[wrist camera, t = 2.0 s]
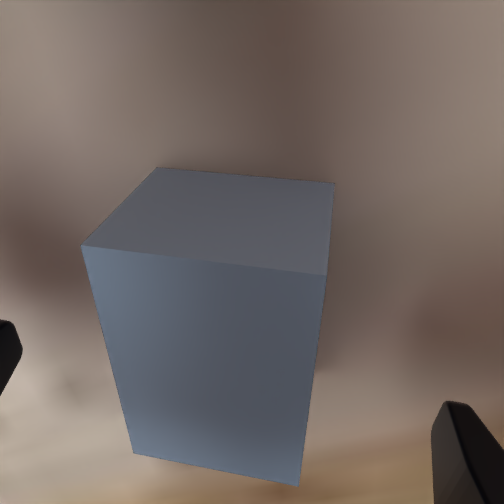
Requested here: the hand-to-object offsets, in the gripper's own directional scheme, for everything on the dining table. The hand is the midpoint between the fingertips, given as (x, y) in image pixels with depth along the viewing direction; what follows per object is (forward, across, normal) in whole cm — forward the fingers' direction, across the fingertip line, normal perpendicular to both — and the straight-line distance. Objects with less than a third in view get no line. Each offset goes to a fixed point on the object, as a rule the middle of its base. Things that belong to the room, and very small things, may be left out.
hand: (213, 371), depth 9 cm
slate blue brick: (+3, 0, 0) cm, 3 cm away
